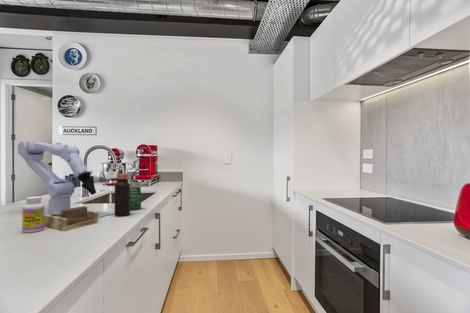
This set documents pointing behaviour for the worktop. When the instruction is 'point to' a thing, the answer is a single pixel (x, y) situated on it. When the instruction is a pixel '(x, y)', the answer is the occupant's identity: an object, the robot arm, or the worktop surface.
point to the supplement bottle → (33, 215)
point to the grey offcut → (56, 214)
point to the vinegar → (122, 196)
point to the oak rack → (62, 222)
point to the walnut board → (75, 215)
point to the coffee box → (135, 197)
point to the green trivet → (103, 213)
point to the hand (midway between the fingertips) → (92, 191)
